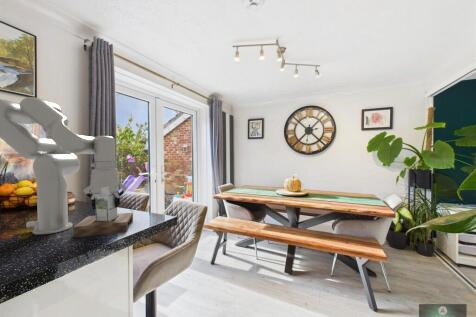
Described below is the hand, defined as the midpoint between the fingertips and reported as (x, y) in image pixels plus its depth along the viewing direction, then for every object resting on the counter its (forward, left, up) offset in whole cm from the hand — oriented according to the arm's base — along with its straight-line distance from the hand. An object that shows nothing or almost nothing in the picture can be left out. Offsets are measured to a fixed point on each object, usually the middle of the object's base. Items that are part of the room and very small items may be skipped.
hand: (106, 207), depth 89 cm
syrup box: (0, 0, -6) cm, 6 cm away
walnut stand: (0, 0, -9) cm, 9 cm away
